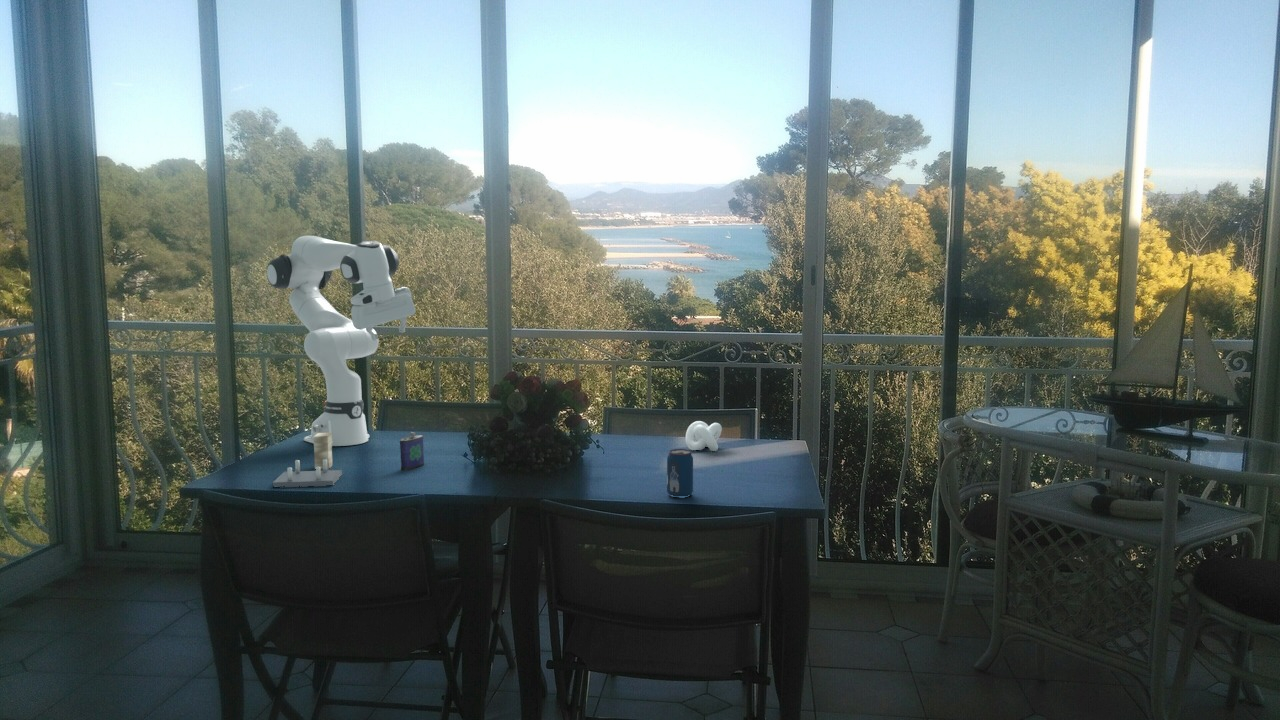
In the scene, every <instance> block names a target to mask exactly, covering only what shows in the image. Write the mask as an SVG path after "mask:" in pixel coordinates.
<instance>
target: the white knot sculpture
mask: <svg viewBox="0 0 1280 720" xmlns="http://www.w3.org/2000/svg"><path fill="white" fill-rule="evenodd" d="M722 431H723V428H722V425H721V424H720V423H718V422H713V423H711V424H710V425H708V423H706V422H705V421H701V420H696V421H694V422H692V423H690V425H689V426H688V427H687V429H686V432H685V444H686V446H687V448H688V450H690V451H693V450H700V451H701V450H703V449H706V448H705V447H707V446H708V449H709V451H711V452H712V451H715V452H718V450H719V445H718V443H717V441H718V439H719V438H720V436H721V434H722Z"/></svg>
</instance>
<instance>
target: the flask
mask: <svg viewBox="0 0 1280 720" xmlns="http://www.w3.org/2000/svg"><path fill="white" fill-rule="evenodd" d="M409 433H410V435H409V436H406V437H403V438H401V439H400V440H399V449H400V468H401V469H400V470H401V471H410V470H414V469H416V468H419V467H421V465H422V466H424V465H425V451H424V450H425V449H424V448H425V447H424V436H423V435H421V434H420V435H419V434H418V435H415V434H416V432H413V431H410V432H409ZM409 469H410V470H409Z"/></svg>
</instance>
